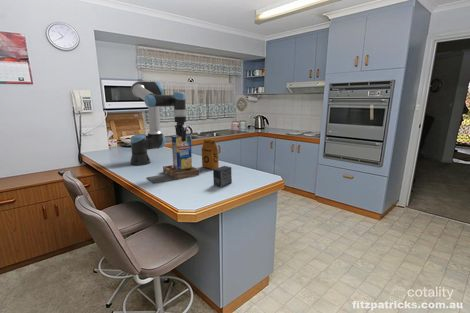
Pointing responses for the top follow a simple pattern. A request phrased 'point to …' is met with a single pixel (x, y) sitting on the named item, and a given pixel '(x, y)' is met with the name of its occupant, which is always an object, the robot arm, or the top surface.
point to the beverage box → (181, 152)
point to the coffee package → (210, 154)
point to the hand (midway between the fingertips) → (181, 150)
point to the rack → (176, 175)
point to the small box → (222, 176)
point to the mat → (160, 178)
